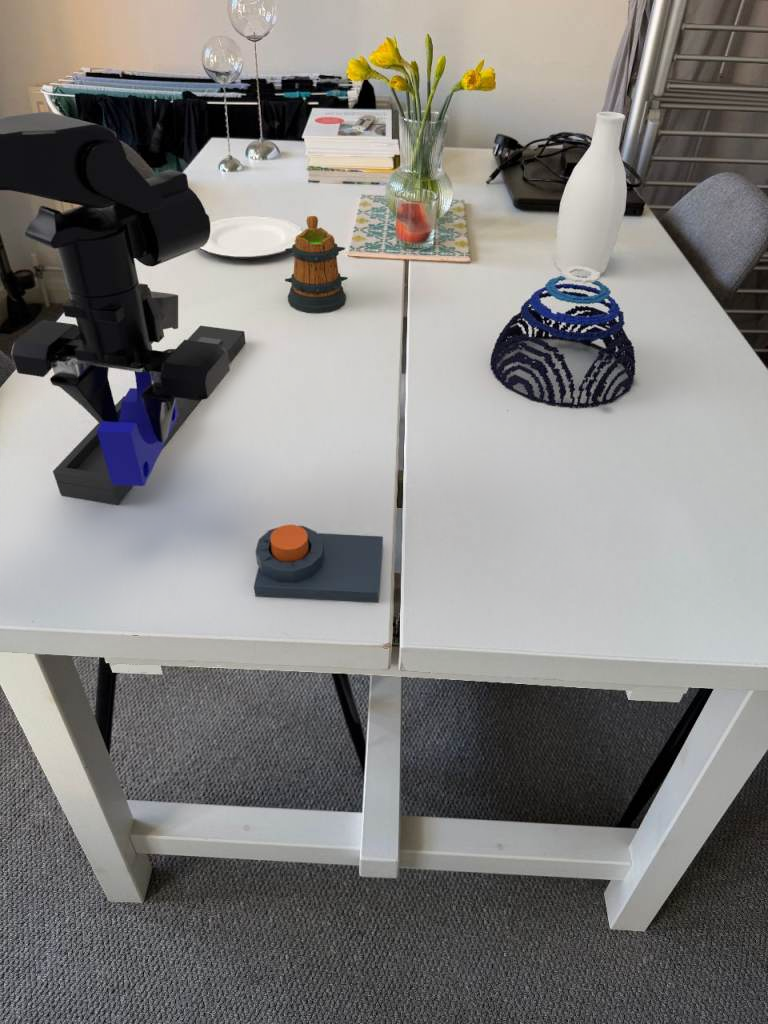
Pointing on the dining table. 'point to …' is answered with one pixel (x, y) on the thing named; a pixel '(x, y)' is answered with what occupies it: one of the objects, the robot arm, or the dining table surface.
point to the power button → (289, 543)
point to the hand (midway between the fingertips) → (139, 436)
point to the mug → (315, 271)
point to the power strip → (86, 462)
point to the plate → (250, 237)
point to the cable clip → (132, 438)
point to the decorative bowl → (586, 338)
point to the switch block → (323, 569)
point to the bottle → (593, 201)
